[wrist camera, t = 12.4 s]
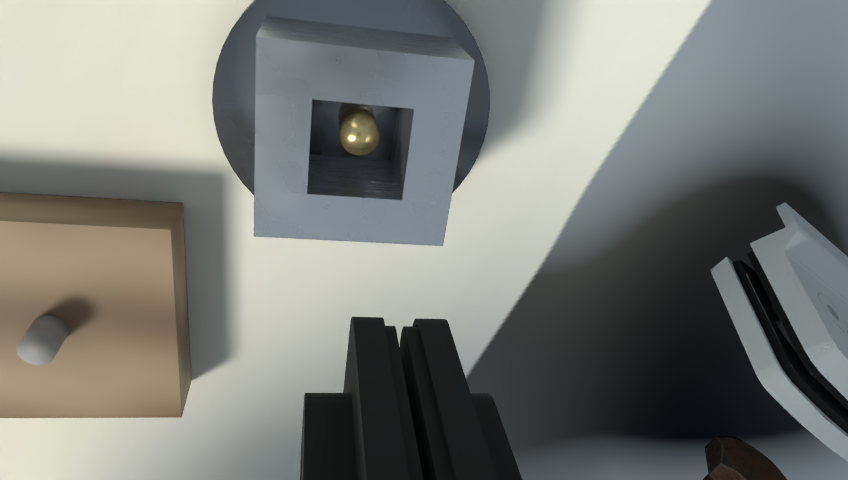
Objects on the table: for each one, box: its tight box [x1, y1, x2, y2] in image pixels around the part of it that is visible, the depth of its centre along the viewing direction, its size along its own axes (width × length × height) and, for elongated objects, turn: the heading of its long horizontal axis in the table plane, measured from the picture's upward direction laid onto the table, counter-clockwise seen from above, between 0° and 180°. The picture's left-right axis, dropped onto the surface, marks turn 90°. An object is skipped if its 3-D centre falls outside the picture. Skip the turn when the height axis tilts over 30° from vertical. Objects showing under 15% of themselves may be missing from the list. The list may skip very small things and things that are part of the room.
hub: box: [212, 0, 490, 195], centre depth 24 cm, size 11×11×4 cm
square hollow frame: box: [254, 16, 475, 246], centre depth 23 cm, size 7×7×4 cm
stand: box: [0, 192, 191, 418], centre depth 26 cm, size 10×10×4 cm
